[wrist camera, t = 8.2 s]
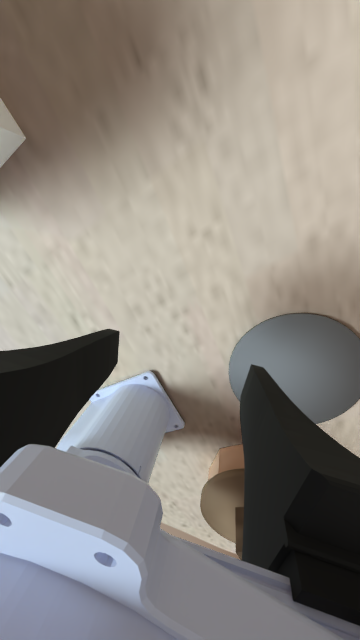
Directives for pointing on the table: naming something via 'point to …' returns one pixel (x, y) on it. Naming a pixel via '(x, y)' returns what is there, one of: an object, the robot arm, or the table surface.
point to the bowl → (227, 460)
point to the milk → (8, 134)
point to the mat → (303, 362)
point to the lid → (225, 505)
